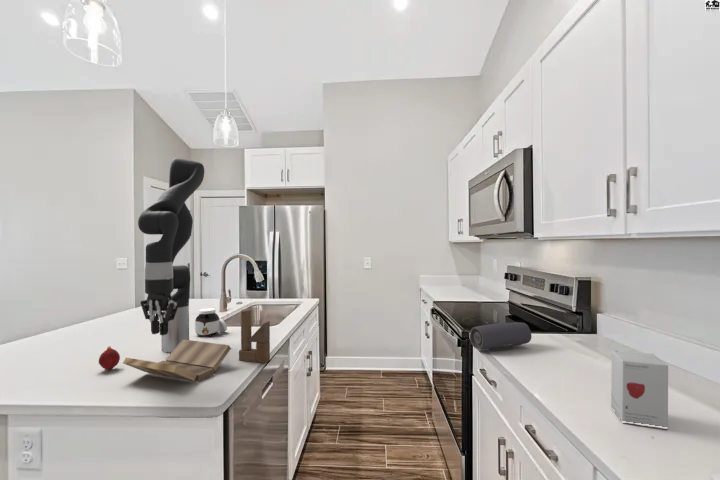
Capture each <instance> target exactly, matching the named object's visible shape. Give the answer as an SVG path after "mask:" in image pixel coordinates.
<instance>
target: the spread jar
mask: <svg viewBox="0 0 720 480" xmlns="http://www.w3.org/2000/svg"><path fill="white" fill-rule="evenodd" d="M198 312H199V313H198V315H197V316H196V317H195V321H194V331H195V334H196V335H197V336H198V337H200V338H210V337H214V336H216V335H217V334H218V333H219V332H220V333H225V332H226V331H227V329H228V326H227V324H226V322H225V320H224V319H222V318H220V316H219V315H218V314H217V313H216V308H212V307H211V308H210V307H209V308H202V309H199V310H198Z"/></svg>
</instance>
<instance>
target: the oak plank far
mask: <svg viewBox="0 0 720 480" xmlns="http://www.w3.org/2000/svg"><path fill="white" fill-rule="evenodd" d="M231 350H232V348H231V346H230V345H229V344H222V343H217V342H216V343H215V342H207V341H206V342H205V341H199V340H192V339H189V340H184V339H183V340H182V341H181V342H180V343H179V344H178V346H177V347H176V348H175V349H174V350H173V352H170V353H169V355H168V356H167V357H166V358H165V361H169V362H175V363H181V364H188V365H194V366H200V367H206V368H213V369H214V372H216V370H218V368H219V367H220V366H221V364H222V362H223V361H224V359H225V358H226V356H227V355H228V354H229V352H230V351H231Z"/></svg>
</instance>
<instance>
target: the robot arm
mask: <svg viewBox="0 0 720 480" xmlns="http://www.w3.org/2000/svg"><path fill="white" fill-rule="evenodd" d="M204 178H205V166H204V165H203V163H201V162H199V161H194V160H190V159H186V158H185V159H184V158H179V157H175V158H173V159H172V160H171V163H170V167H169V182H168V183H169V184H168V188H167V189H165V190H164V191H163V192H162V194H161V195H160V196H159V198H158V200H157V201H156V202H154V203H153V204H151V205H150V206H148V207H147V208H146V209H144V210H143V211H142V212H141V214H140V215H139V217H138V220H137V226H138V229H139V231H140V232H142V234H145V235H154V236H155V235H161V238H160V239H159V240H158V241H153V242H150V243H148V244H146V246H145V268H144V293H145V294H146V295H147V297H146V299H143V300H140V306H141V309H142V311H143V315H144V318H145V320H149V322H150V330H151V331H150V332H151V334H152V335H157V334H159V335H160V336H161V351H163V352H164V353H169V354H171V353H172V352H173V350H174V349H175V348H176V347H177V346H178V344H179V343H180V342H181V341H182V340H183V339H184V340H190V296H191V295H190V294H191V293H190V292H191V271H190V269H189V267H188V265H183V264H181V265H173V263H174V261H175V259H176V257H177V255H178V254H179V252H180V251H181V250H182V249H183V248H184V247H185V245H186V244H187V243H188V242H189V240H190V239H191V236H192V230H193V222H194V220H193V216H192V214H191V212H190V209H189V208H188V206H187V204H186V203H185V202H186V201H187V199H188V198H190V196H192V195H193V194H194V192H196V190H197V189H198V188H199V187H200V186H201V185H202V183H203V181H204ZM174 290H176V292H175V293H173V294H172V292H174Z"/></svg>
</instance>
